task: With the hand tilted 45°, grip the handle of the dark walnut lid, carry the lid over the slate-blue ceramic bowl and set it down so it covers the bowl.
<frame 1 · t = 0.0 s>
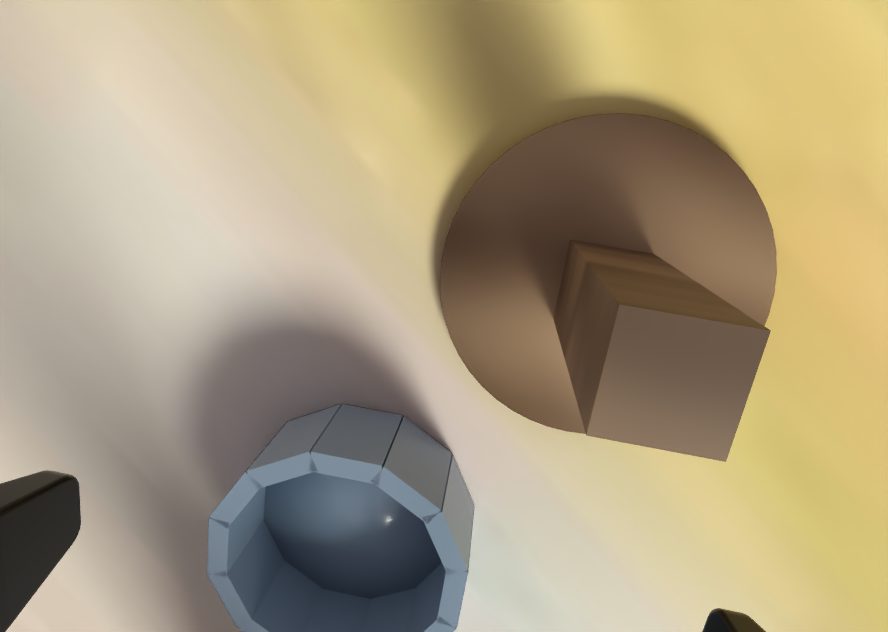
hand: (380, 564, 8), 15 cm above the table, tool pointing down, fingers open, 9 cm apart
walnut lid: (598, 282, 21), on the table
slate bowl: (360, 509, 25), on the table
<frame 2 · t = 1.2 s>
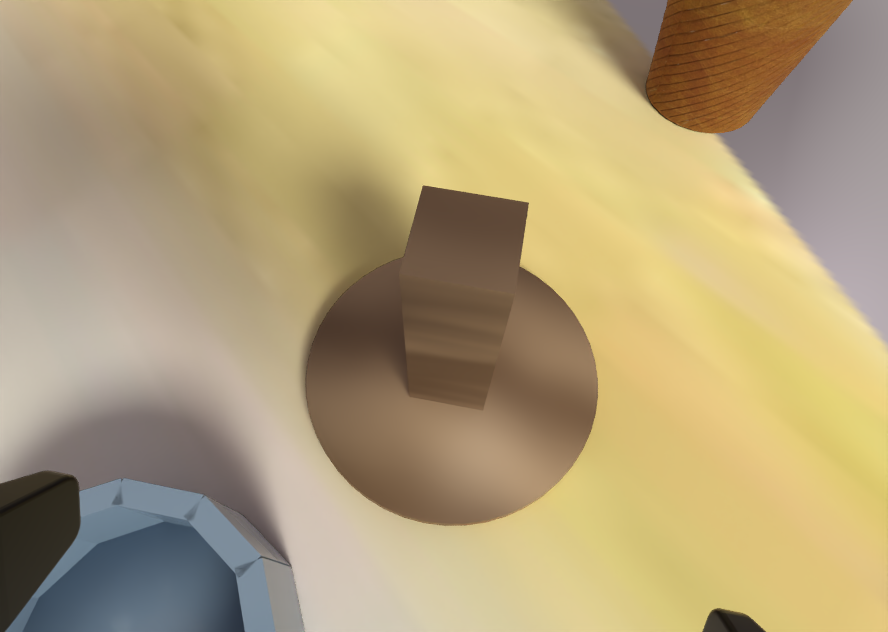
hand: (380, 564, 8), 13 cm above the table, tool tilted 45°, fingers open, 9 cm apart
walnut lid: (451, 376, 24), on the table
disposable coffee cup: (698, 97, 32), on the table
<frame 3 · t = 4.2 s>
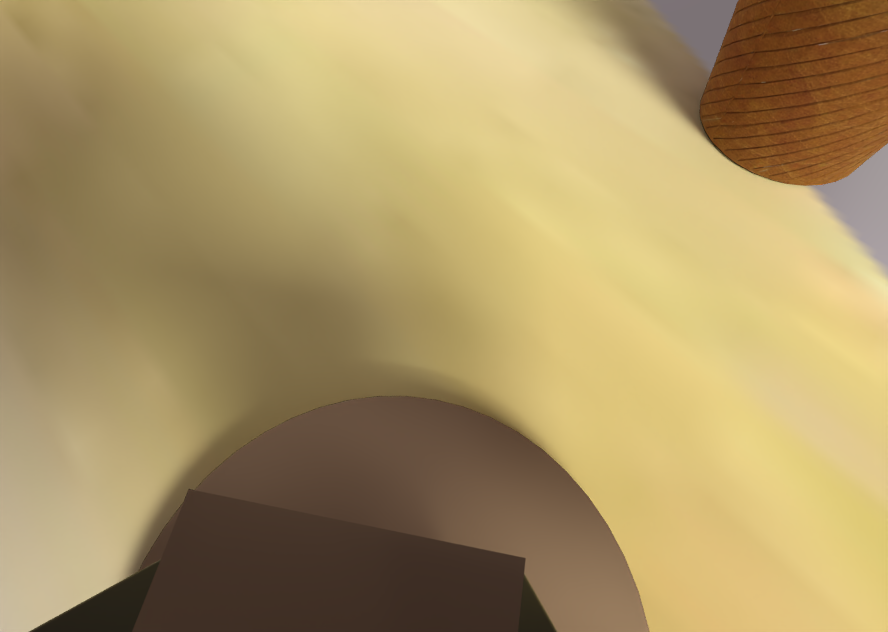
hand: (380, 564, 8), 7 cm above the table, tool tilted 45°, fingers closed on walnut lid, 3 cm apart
disposable coffee cup: (777, 129, 22), on the table
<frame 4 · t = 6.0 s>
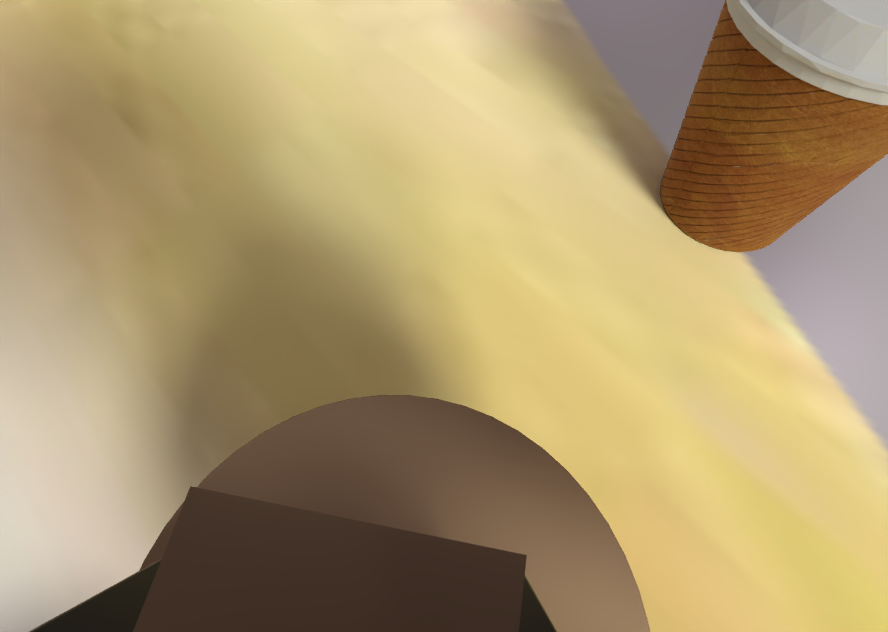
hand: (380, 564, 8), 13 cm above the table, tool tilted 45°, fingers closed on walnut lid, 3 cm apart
disposable coffee cup: (720, 203, 28), on the table
when the fingers open (11 cm above the table, at t = 7.8 s): walnut lid stays where it is, resting on slate bowl.
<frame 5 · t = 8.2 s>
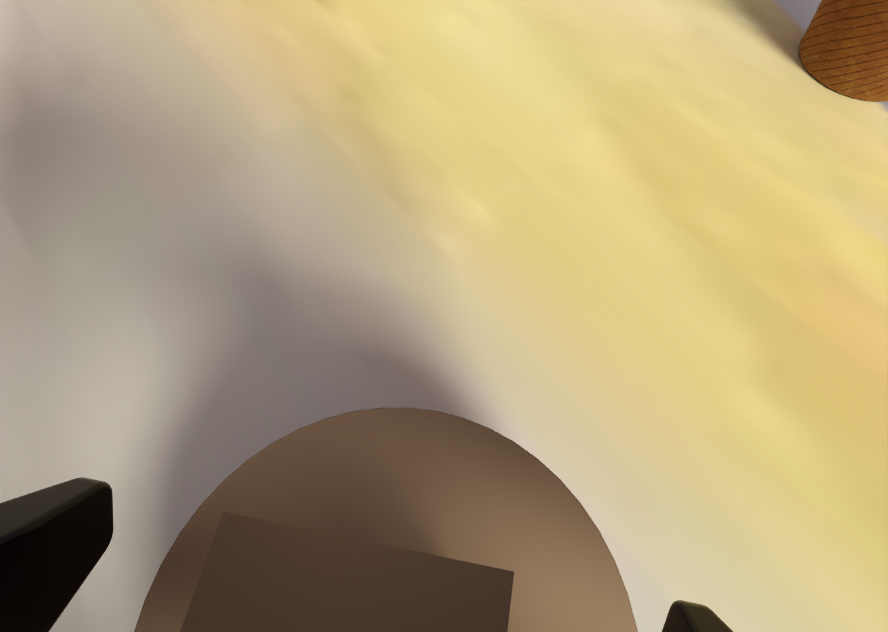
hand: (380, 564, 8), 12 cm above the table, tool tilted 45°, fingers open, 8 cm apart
disposable coffee cup: (853, 66, 31), on the table
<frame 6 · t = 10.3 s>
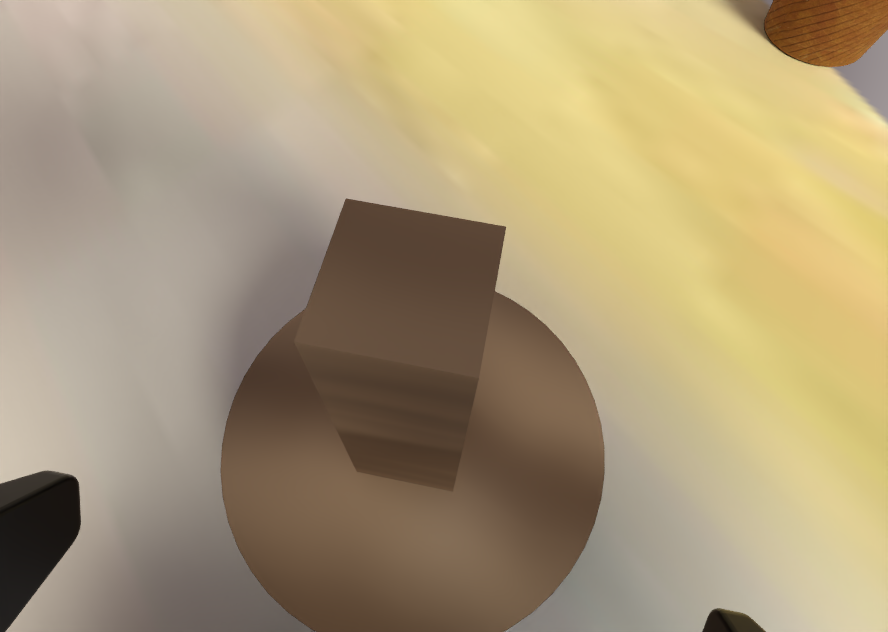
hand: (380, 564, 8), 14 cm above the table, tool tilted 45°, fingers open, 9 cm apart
walnut lid: (415, 441, 18), point 4 cm above the table, touching slate bowl
disposable coffee cup: (811, 38, 36), on the table
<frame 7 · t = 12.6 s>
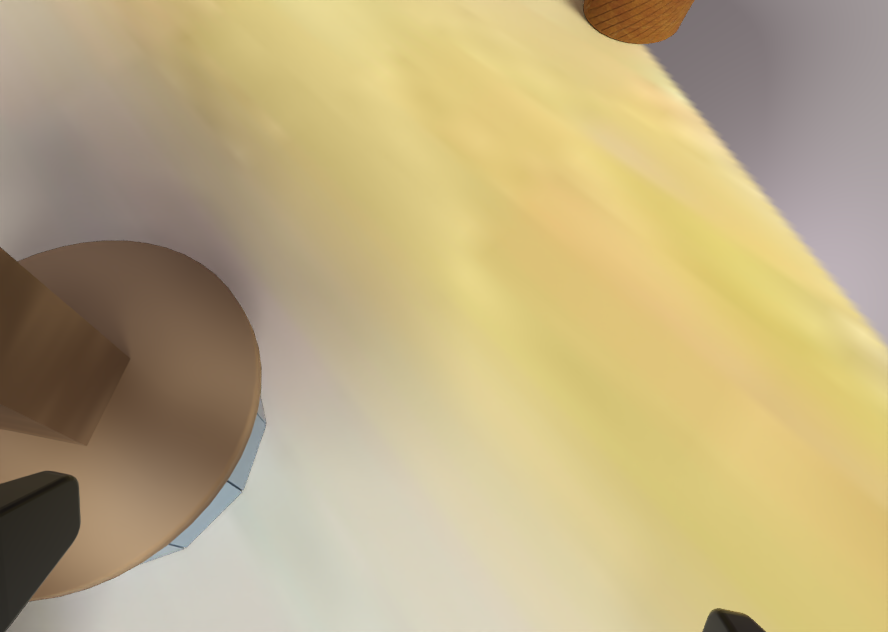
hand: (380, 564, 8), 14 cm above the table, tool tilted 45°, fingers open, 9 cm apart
walnut lid: (79, 400, 19), point 4 cm above the table, touching slate bowl
disposable coffee cup: (630, 16, 36), on the table
slate bowl: (134, 433, 22), on the table
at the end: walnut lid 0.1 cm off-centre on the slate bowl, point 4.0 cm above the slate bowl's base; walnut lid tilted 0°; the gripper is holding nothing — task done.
